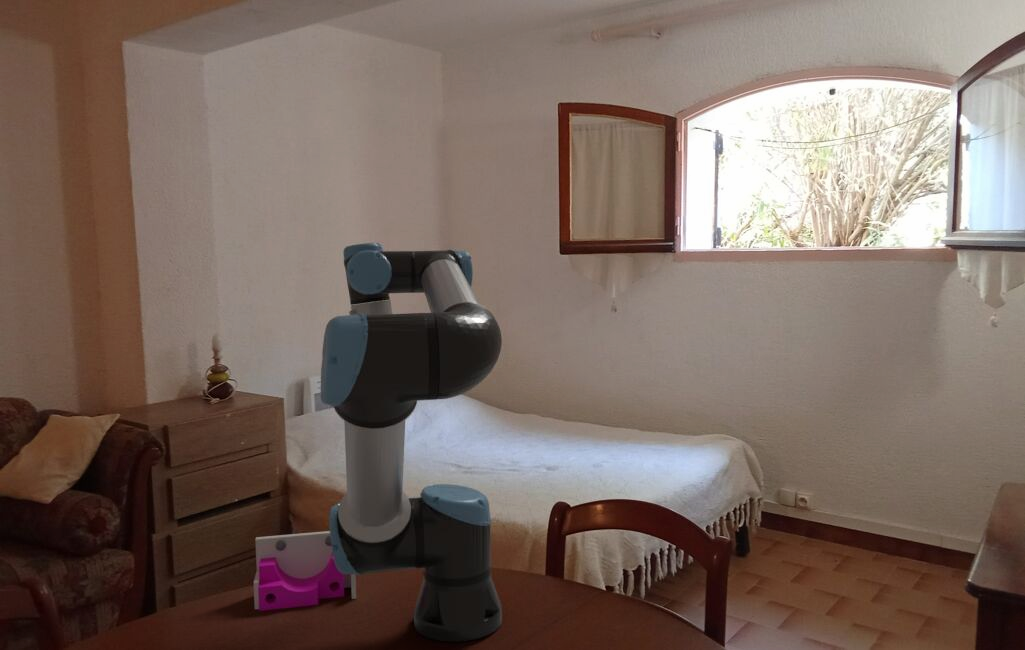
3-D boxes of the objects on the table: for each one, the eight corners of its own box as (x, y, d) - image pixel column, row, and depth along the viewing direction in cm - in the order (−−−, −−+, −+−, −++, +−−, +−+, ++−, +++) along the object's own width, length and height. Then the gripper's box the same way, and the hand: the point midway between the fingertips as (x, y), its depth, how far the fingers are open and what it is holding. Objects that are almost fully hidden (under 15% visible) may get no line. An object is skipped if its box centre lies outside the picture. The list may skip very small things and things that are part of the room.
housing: (356, 598, 145) (354, 541, 144) (254, 609, 141) (252, 550, 141) (355, 584, 152) (353, 528, 151) (258, 594, 148) (256, 537, 147)
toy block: (259, 611, 141) (257, 571, 140) (262, 597, 147) (260, 558, 146) (344, 602, 144) (343, 563, 144) (343, 589, 150) (342, 551, 150)
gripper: (344, 328, 153) (361, 446, 154) (366, 327, 141) (384, 455, 143) (380, 322, 156) (396, 438, 158) (404, 321, 145) (422, 446, 147)
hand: (390, 446), depth 150 cm, fingers closed
